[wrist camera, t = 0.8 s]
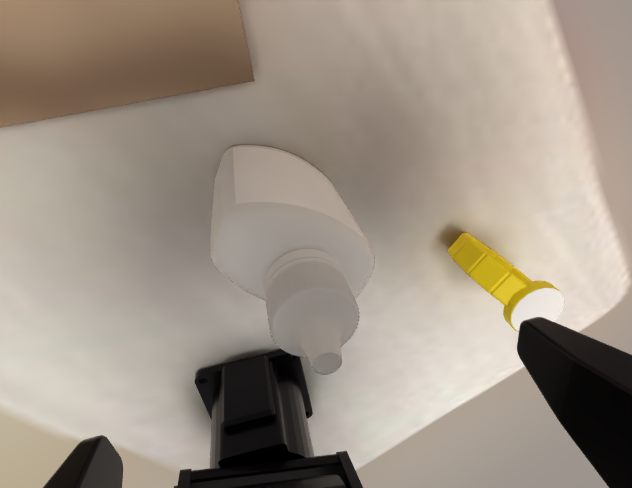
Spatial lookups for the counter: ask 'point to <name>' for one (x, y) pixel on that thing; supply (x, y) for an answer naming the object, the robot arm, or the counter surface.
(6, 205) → the counter surface
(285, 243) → the eye dropper bottle
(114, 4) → the step riser
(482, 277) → the watch
